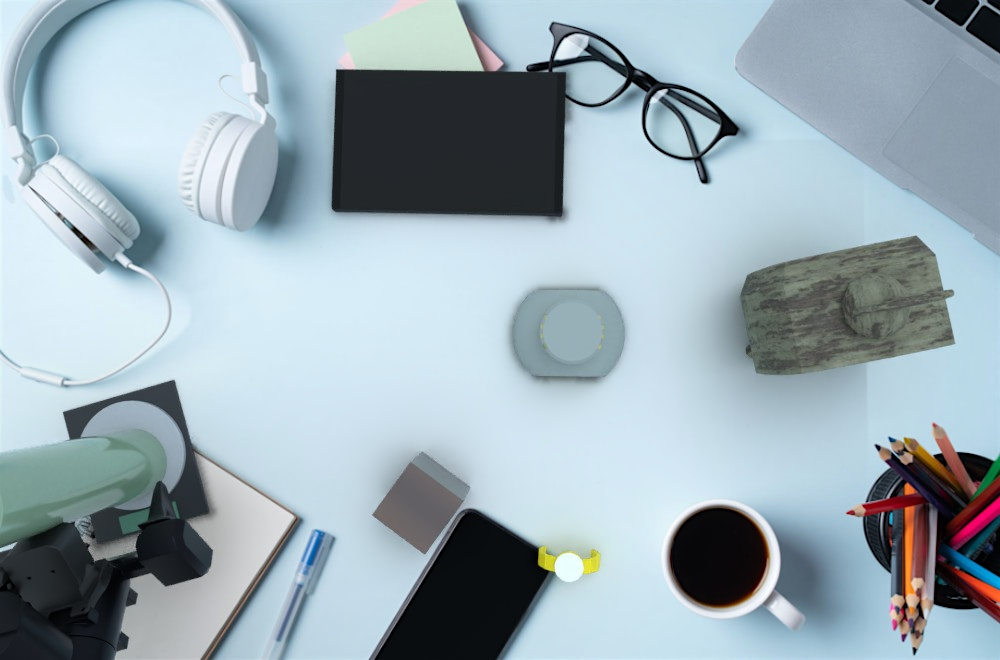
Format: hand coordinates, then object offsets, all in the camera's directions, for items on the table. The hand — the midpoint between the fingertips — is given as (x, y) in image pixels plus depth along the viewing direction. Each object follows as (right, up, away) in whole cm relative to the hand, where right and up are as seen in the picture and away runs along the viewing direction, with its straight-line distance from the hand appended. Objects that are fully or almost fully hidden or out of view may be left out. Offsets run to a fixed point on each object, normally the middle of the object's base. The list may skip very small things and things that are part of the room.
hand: (116, 496), depth 74 cm
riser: (+30, -1, +5) cm, 30 cm away
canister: (0, +2, +5) cm, 5 cm away
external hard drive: (+32, +35, +7) cm, 47 cm away
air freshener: (+44, +15, +6) cm, 46 cm away
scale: (0, +2, +7) cm, 7 cm away
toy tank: (+66, +17, +5) cm, 69 cm away
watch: (+44, -7, +5) cm, 44 cm away
